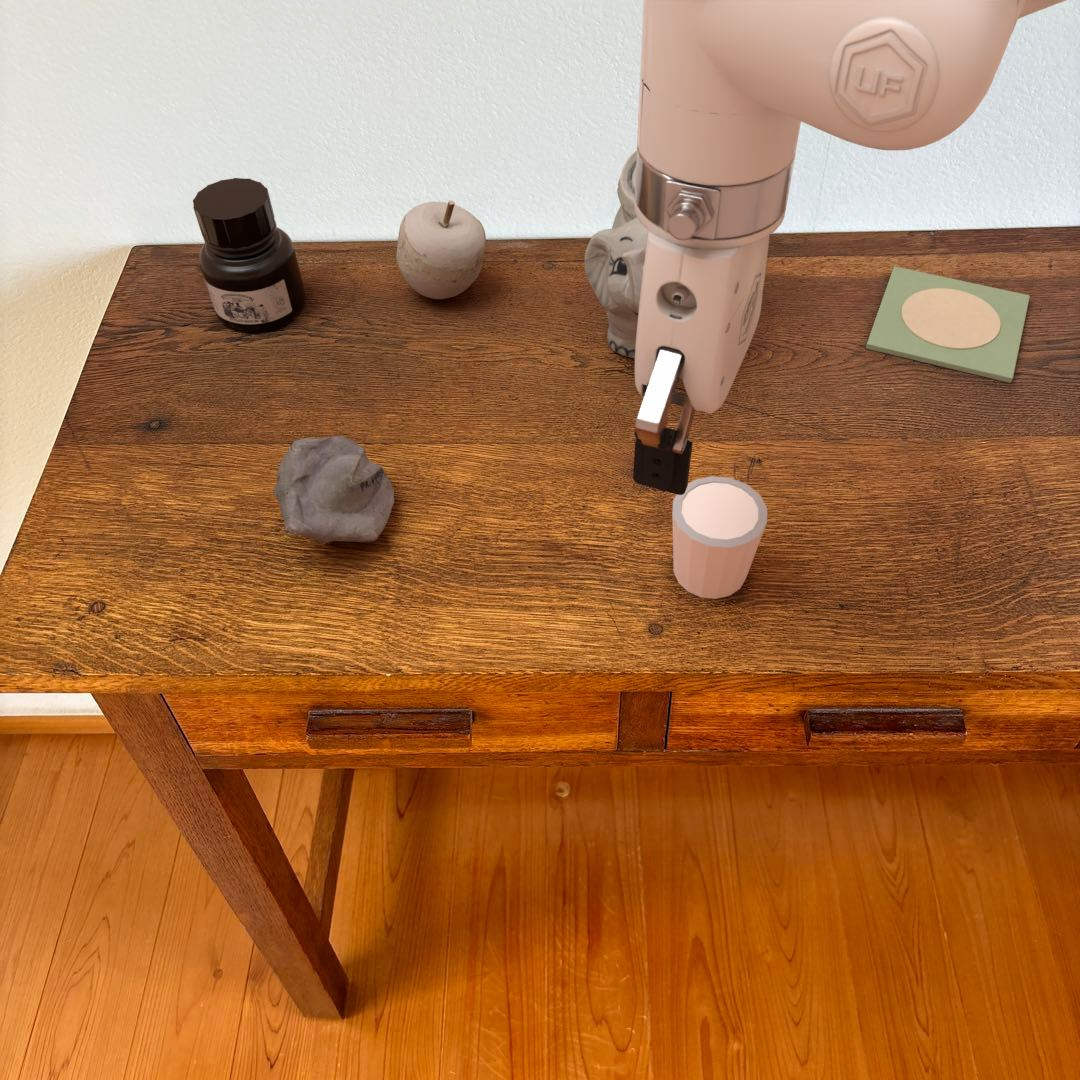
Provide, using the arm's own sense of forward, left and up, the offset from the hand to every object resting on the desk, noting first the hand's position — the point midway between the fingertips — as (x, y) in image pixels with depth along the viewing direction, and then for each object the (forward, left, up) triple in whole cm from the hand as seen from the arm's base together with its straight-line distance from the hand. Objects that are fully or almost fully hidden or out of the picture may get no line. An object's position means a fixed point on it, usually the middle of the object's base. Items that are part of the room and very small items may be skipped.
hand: (684, 432), depth 63 cm
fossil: (+27, +3, -18) cm, 32 cm away
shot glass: (-2, -4, -18) cm, 19 cm away
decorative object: (+33, -28, -18) cm, 47 cm away
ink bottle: (+49, -19, -18) cm, 55 cm away
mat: (-14, -41, -18) cm, 47 cm away
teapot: (+11, -28, -18) cm, 35 cm away
